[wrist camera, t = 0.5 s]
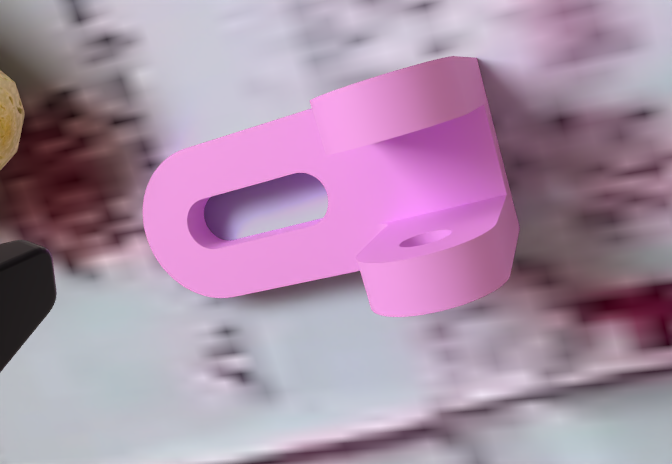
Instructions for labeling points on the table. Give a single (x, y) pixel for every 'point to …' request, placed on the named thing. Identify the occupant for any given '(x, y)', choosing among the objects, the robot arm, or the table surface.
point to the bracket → (355, 196)
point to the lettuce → (9, 119)
